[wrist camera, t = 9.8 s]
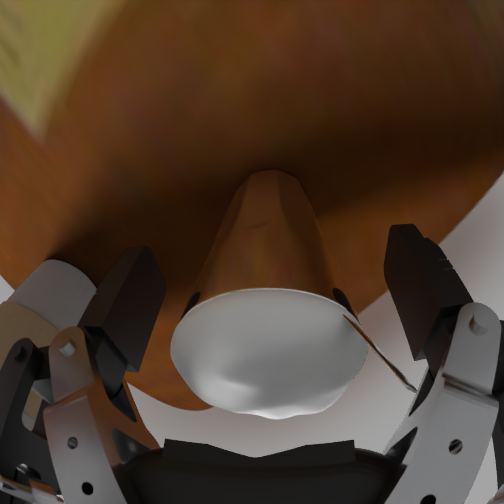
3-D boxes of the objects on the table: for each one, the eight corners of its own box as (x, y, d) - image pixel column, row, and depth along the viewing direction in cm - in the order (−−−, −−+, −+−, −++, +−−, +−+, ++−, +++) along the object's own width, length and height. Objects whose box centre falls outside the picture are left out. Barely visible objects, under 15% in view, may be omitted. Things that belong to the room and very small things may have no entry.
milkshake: (354, 190, 12) (447, 409, 4) (272, 258, 15) (267, 464, 7) (282, 119, 10) (324, 334, 2) (201, 204, 13) (121, 421, 5)
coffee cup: (8, 249, 16) (-84, 401, 4) (79, 223, 14) (-55, 464, 2) (69, 331, 21) (14, 471, 9) (148, 330, 19) (96, 524, 7)
